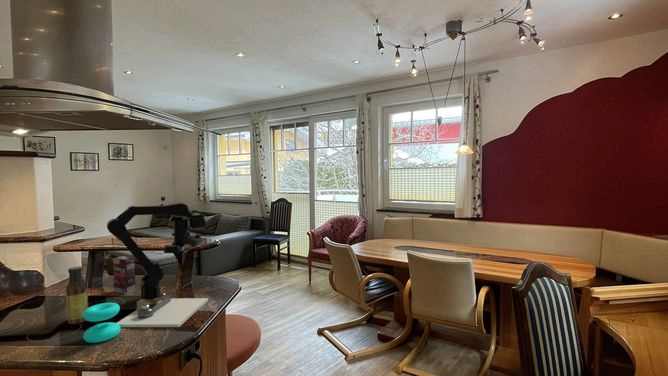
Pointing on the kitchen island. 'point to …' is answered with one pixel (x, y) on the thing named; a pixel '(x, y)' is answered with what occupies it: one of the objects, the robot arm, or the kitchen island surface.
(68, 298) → the sauce bottle
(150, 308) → the pivot link
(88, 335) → the donuts
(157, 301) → the keeper
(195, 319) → the kitchen island surface
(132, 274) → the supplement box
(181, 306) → the base board
